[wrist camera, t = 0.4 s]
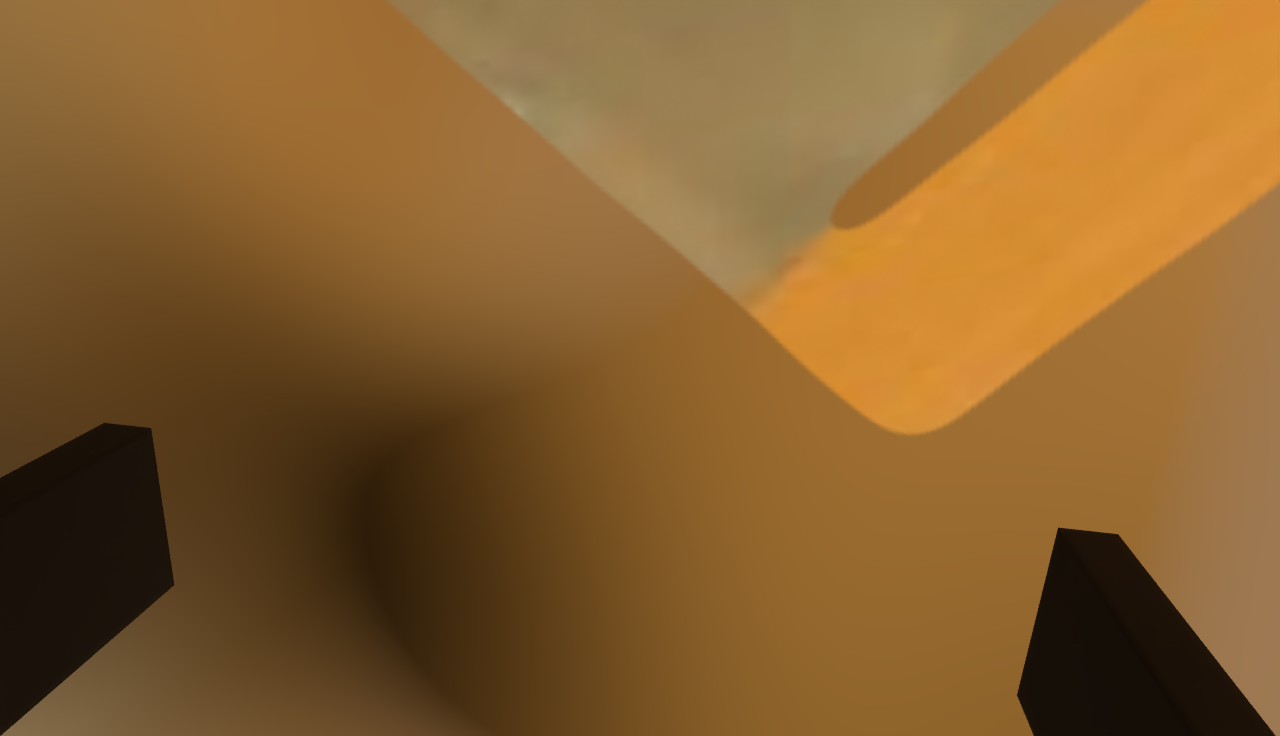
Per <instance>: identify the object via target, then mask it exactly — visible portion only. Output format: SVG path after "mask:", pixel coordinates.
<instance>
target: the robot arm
mask: <svg viewBox="0 0 1280 736" xmlns="http://www.w3.org/2000/svg"><path fill="white" fill-rule="evenodd" d="M172 586H174V580H173V573H172V566H171V560H170V554H169V546H168V539H167V533H166V526H165V519H164V513H163V506H162V499H161V492H160V485H159V478H158V472H157V465H156V458H155V452H154V445H153V438H152V431H151V428H145V427H135V426H127V425H117V424H109V423H103V424H101V425H100V426H98V427H96V428H94V429H92V430H90V431H88V432H87V433H85V434H83V435H81V436H79V437H77V438H75V439H73V440H72V441H69V442H67V443H65V444H64V445H62V446H60V447H58V448H56V449H54V450H52V451H50V452H49V453H47V454H45V455H43V456H41V457H39V458H37V459H35V460H33V461H31V462H30V463H28V464H26V465H24V466H22V467H20V468H19V469H17V470H14V471H12V472H11V473H9V474H7V475H5V476H3V477H1V478H0V736H1V735H2V734H3V733H4V732H5V731H6V730H8V729H9V728H10V727H11V726H12V725H14V724H15V723H16V722H17V721H18V720H19V719H20V718H22V717H23V716H24V715H25V714H26V713H27V712H28V711H30V710H31V709H32V708H33V707H34V706H35V705H37V704H38V703H39V702H40V701H41V700H42V699H43V698H45V697H46V696H47V695H48V694H49V693H50V692H51V691H53V690H54V689H55V688H56V687H57V686H58V685H60V684H61V683H62V682H63V681H64V680H65V679H66V678H68V677H69V676H70V675H71V674H72V673H73V672H75V671H76V670H77V669H78V668H79V667H80V666H81V665H83V664H84V663H85V662H86V661H87V660H88V659H90V658H91V657H92V656H93V655H94V654H95V653H96V652H97V651H99V650H100V649H101V648H102V647H103V646H104V645H105V644H107V643H108V642H109V641H110V640H111V639H113V638H114V637H115V636H116V635H117V634H118V633H120V632H121V631H122V630H123V629H124V628H125V627H126V626H128V625H129V624H130V623H131V622H132V621H133V620H134V619H136V618H137V617H138V616H139V615H140V614H141V613H143V612H144V611H145V610H146V609H147V608H148V607H149V606H151V605H152V604H153V603H154V602H155V601H156V600H157V599H159V598H160V597H161V596H162V595H163V594H164V593H166V592H167V591H168V590H169V589H170V588H171V587H172ZM1017 696H1018V698H1019V701H1020V703H1021V706H1022V708H1023V711H1024V713H1025V715H1026V718H1027V720H1028V723H1029V725H1030V728H1031V730H1032V732H1033V735H1034V736H1275V735H1274V733H1273V732H1272V731H1271V729H1270V728H1269V727H1268V725H1267V724H1266V723H1265V722H1264V720H1263V719H1262V718H1261V717H1260V715H1259V714H1258V713H1257V711H1256V710H1255V709H1254V708H1253V706H1252V705H1251V704H1250V702H1249V701H1248V700H1247V699H1246V697H1245V696H1244V695H1243V693H1242V692H1241V691H1240V690H1239V689H1238V687H1237V686H1236V685H1235V683H1234V682H1233V681H1232V679H1231V678H1230V677H1229V676H1228V674H1227V673H1226V672H1225V670H1224V669H1223V668H1222V667H1221V665H1220V664H1219V663H1218V662H1217V660H1216V659H1215V658H1214V656H1213V655H1212V654H1211V653H1210V652H1209V650H1208V649H1207V647H1206V646H1205V645H1204V644H1203V642H1202V641H1201V640H1200V639H1199V637H1198V636H1197V635H1196V633H1195V632H1194V631H1193V630H1192V628H1191V627H1190V626H1189V624H1188V623H1187V622H1186V621H1185V619H1184V618H1183V617H1182V615H1181V614H1180V613H1179V612H1178V610H1177V609H1176V608H1175V607H1174V605H1173V604H1172V603H1171V601H1170V600H1169V599H1168V598H1167V596H1166V595H1165V594H1164V593H1163V591H1162V590H1161V589H1160V587H1159V586H1158V585H1157V583H1156V582H1155V581H1154V580H1153V578H1152V577H1151V576H1150V575H1149V573H1148V572H1147V571H1146V569H1145V568H1144V567H1143V566H1142V564H1141V563H1140V562H1139V560H1138V559H1137V558H1136V557H1135V555H1134V554H1133V553H1132V551H1131V550H1130V549H1129V548H1128V546H1127V545H1126V544H1125V543H1124V541H1123V540H1122V539H1121V537H1120V536H1119V535H1118V534H1111V533H1101V532H1092V531H1083V530H1074V529H1065V528H1058V530H1057V535H1056V539H1055V543H1054V547H1053V551H1052V555H1051V559H1050V563H1049V567H1048V571H1047V576H1046V580H1045V583H1044V588H1043V591H1042V596H1041V600H1040V604H1039V608H1038V612H1037V616H1036V620H1035V625H1034V628H1033V632H1032V637H1031V640H1030V645H1029V648H1028V653H1027V657H1026V661H1025V665H1024V669H1023V673H1022V677H1021V681H1020V685H1019V689H1018V694H1017Z"/></svg>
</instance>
